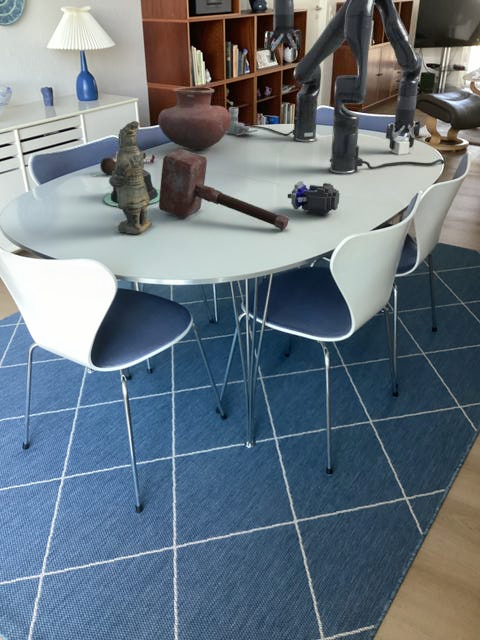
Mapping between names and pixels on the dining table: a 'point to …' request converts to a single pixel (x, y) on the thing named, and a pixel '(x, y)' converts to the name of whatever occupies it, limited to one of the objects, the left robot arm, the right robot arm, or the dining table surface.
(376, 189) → the dining table surface
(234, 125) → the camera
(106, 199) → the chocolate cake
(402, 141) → the block
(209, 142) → the clay pot
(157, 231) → the dining table surface
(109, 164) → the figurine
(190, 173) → the sledgehammer
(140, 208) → the statue
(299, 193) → the toy
